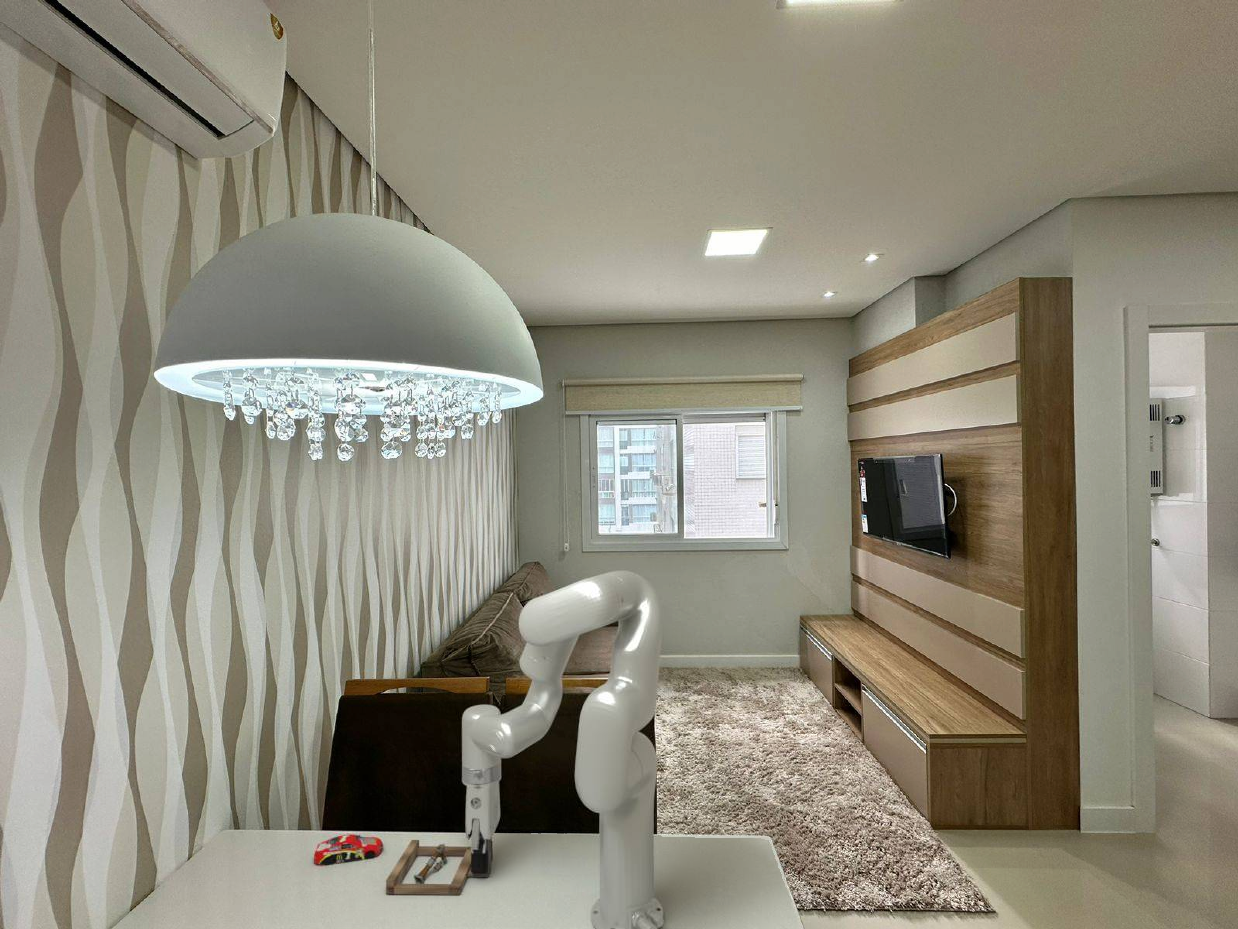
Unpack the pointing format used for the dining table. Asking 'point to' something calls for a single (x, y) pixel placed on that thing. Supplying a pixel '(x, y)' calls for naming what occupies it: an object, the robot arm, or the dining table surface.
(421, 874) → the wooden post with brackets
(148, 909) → the dining table surface
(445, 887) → the brown hollow square frame
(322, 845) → the race car
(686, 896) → the dining table surface
